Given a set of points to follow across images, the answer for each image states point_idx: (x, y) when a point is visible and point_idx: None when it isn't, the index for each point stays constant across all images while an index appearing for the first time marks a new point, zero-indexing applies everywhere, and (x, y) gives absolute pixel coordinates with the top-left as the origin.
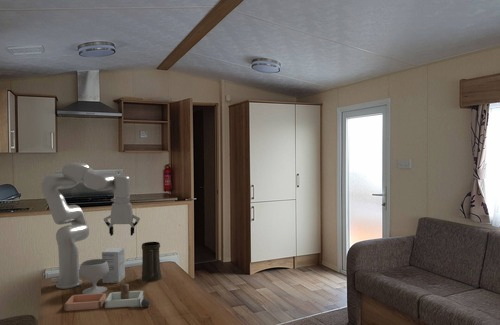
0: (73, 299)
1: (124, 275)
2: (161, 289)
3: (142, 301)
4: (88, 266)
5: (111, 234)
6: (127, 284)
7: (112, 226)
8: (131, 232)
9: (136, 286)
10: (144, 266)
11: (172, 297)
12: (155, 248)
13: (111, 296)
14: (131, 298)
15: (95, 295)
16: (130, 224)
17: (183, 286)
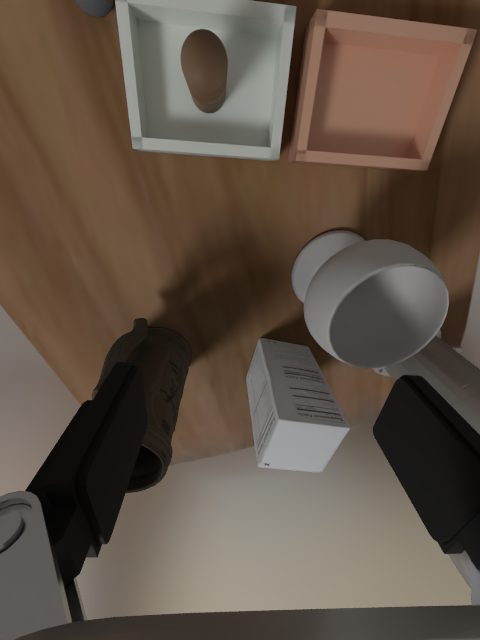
0: (417, 150)
1: (247, 378)
2: (91, 237)
3: None
4: (420, 262)
5: (414, 385)
6: (187, 63)
7: (470, 546)
8: (107, 392)
9: (196, 291)
10: (168, 368)
11: (4, 114)
12: None
13: (270, 133)
14: (187, 136)
15: (337, 153)
16: (33, 601)
17: (8, 252)
